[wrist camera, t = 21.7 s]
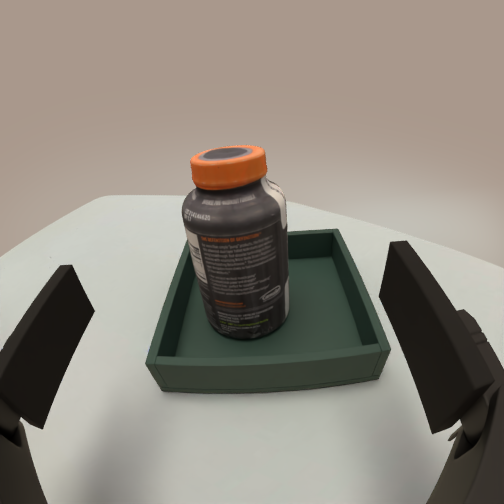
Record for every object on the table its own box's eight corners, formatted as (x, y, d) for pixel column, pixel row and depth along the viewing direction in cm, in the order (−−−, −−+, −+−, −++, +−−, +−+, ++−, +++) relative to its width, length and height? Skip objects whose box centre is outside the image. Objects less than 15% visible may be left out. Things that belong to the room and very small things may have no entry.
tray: (161, 391, 16) (144, 363, 14) (193, 266, 27) (187, 238, 25) (378, 379, 15) (391, 349, 13) (336, 257, 26) (338, 228, 24)
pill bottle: (301, 294, 22) (299, 140, 15) (268, 353, 17) (252, 169, 11) (232, 277, 24) (212, 139, 18) (190, 325, 20) (147, 167, 14)
